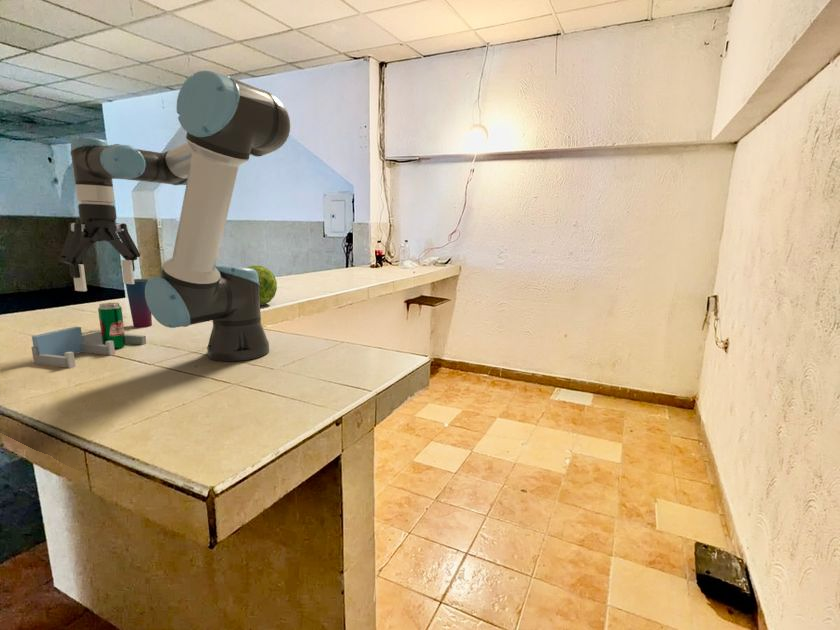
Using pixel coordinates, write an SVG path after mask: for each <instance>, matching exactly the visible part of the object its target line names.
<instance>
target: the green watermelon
mask: <svg viewBox="0 0 840 630" xmlns="http://www.w3.org/2000/svg"><path fill="white" fill-rule="evenodd" d="M246 268H252V269H254V270H256V271H257V273H258V278H259V283H260V306H264V305H266V304H268V303H270V302H271V301H272V300H273V299H274V297H275V296H276V293H277V290H278V287H277V286H278V284H277V279H276V277H275V275H274V273H273V272H272V271H270V269H268V268H266V267H265V266H262V265H251V266H247V267H246Z"/></svg>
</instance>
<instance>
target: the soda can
mask: <svg viewBox="0 0 840 630" xmlns="http://www.w3.org/2000/svg"><path fill="white" fill-rule="evenodd" d="M97 312H98V319H99V328H100V330H101V336H102V344H103V345H106V343H105V342H106V341H114V349H115V350H120V349H122V348H125V347H126V345H127V343H126V342H125V334H126V332H125V327H124V318H123V317H124V316H123V309H122V306H121V305H120V303H119V302H104V303H100V304H99V306H98V307H97Z"/></svg>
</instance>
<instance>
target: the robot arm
mask: <svg viewBox="0 0 840 630" xmlns="http://www.w3.org/2000/svg"><path fill="white" fill-rule="evenodd" d="M176 113H177V115H179V116H178V117H177V119H178V122H179V124H180V126H181V128H182V129H183V130H184V131H185V132H186V136H185V140H186V143H184V144H181V145H179V146H177V147H174V148H172V149H169V150H168V151H165V152H156V151H151V150H144V149H140V148H139V149H138V148H135V147H134V146H131V145H129V144H119V143H114V144H110V145H109V144H108V142H107V140H105V139H102V138H97V137H96V138H95V137H91V136H73V137H71V138H70V140H69V141H70V142H69V143H70V152H69V153H70V156H71V162H72V168H73V176H74V177H73V178H74V183H75V191H76V199H77V201H78V202H80V203H79V204H78V205H77V208H78V214H79V215H78V216H79V218H80V219H81V223H80V222H69V223H68V232H67V236H66V239H65V240H64V243H63V246H62V249H61V252H60V255H59V258H58V261H59V262H61V263H64V264H66V265H68V268H69V274H70V277H71V278H72V279H73V284H74V285H73V286H74V291H76V292H87V291H88V288H87V287H88V286H87V280H86V274H85V273H86V272H85V265H84V264H80V263H81V262H82V261H83V260H84V258H85V256H86V255H87V253H88V251H90V249H91V247H92V245H93V244H94V243H96V242H108V243H109V244H111V246H112V247H113V248H114V249H115V250H116V251H117V252H118V253H119V254H120V256H121V257H122V258H123V259H122V260H121V269H122V275H123V284H124V285H126V284H135V283H134V279H135V277H134V272H135V270H136V269H135V261H137V260H138V258H140V257H141V253H140V251H139V249H138V248H137V246H136V244H135V242H134V240H133V239H132V237H131V235H130V233H129V231H128V226H127V223H122V222H119V223H118V222H117V223H116V222H115V221H116V219H117V210H116V206H115V205H114V203H115V201H116V200H115V193H114V185H113V180H129V181H136V182H139V181H140V182H148V183H158V184H167V185H173V186H185V190H184V193H183V194H184V195H183V201H182V206H181V211H180V216H179V222H178V228H177V232H176V238H175V243H174V247H173V253H172V257H171V258H170V259H169V258H168V260H165V261H164V262H163V263H162V267H161V273H160V276H158V275H156V276H153V277H151V278H149V279H150V280H148V282H147V283H146V286H145V298H146V302H147V305H148V307H149V309H150V312H151V314H152V316H153V318H154V319H155V321H157V322H158V323H159V324H160V325H162V326H164V327H166V328H170V329H176V328H180V327H184V328H186V327H189V326H192V325H196V324H201V323H205V322H210V321H211V322H212V328H211V332H210V337H209V339H208V340H209V341H208V345H207V347H206V350H207V352H206V353H207V357H208V358H209V359H211V360H213V361H218V362H240V361H241V362H242V361H249V360H254V359H258V358H260V357H264V356H265V354H266V355H268V353H270V342H269V340H268V338H267V336H266V332H265V330H264V327H263V324H262V318H261V316H262V315H261V305H260V283H259V278H258V273H257V271H256V270H254V269H252V268H247V267H240V266H228V265H217V261H218V257H219V253H220V248H221V243H222V241H223V240H222V239H223V236H224V233H225V232H224V230H225V227H226V223H227V218H228V215H229V210H230V209H229V208H230V204H231V201H232V197H233V192H234V188H235V183H236V180H237V175H238V171H239V167H240V165H242V164H244V163H246V162H249V160H250V156H253V157H257V158H259V157H263V156H266V155H267V154H270V153H273V152H275V151H277V150H279V149H280V148H282V147H283V146H284V144H285V143H286V142H287V140H288V138H289V136H290V133H291V119H290V116H289V113H288V111H287V108H286V107H285V105H284V104H283V103H282V101H281V100H280V99H279V98H278V97H276V95H274V94H272V93H271V92H270V91H267V90H263V89H260V88H258V87H256V86H253V85H250V84H249V83H246V82H242V81H240V80H237V79H235V78H232V77H230V76H229V75H226V74H223V73H218V72H214V71H211V70H199V71H197V72H194V73H193V75H190V76H189V77H187V78H186V80H185V81H184V82H183V84H182V85H181V86H180V89H179V92H178V96H177V99H176ZM82 232H83V234H82ZM263 355H264V356H263Z"/></svg>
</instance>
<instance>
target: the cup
mask: <svg viewBox="0 0 840 630" xmlns="http://www.w3.org/2000/svg"><path fill="white" fill-rule="evenodd" d="M150 279H151V278H134V283H135V284H125V289H126V292H127V293H126V295H127V299H128V303H129V304H128V305H129V309H130V313H131V320H132V325H133V327H134V328H136V329H137V328H138V329H140V328H141V329H143V328H148V327H151V326H152V325H153V324H152V323H153V319H152V316H153V315H152V313H151V312H150V309H149V307H148V305H147V302H146V298H145V286H146V283H147V282H148V280H150Z"/></svg>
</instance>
